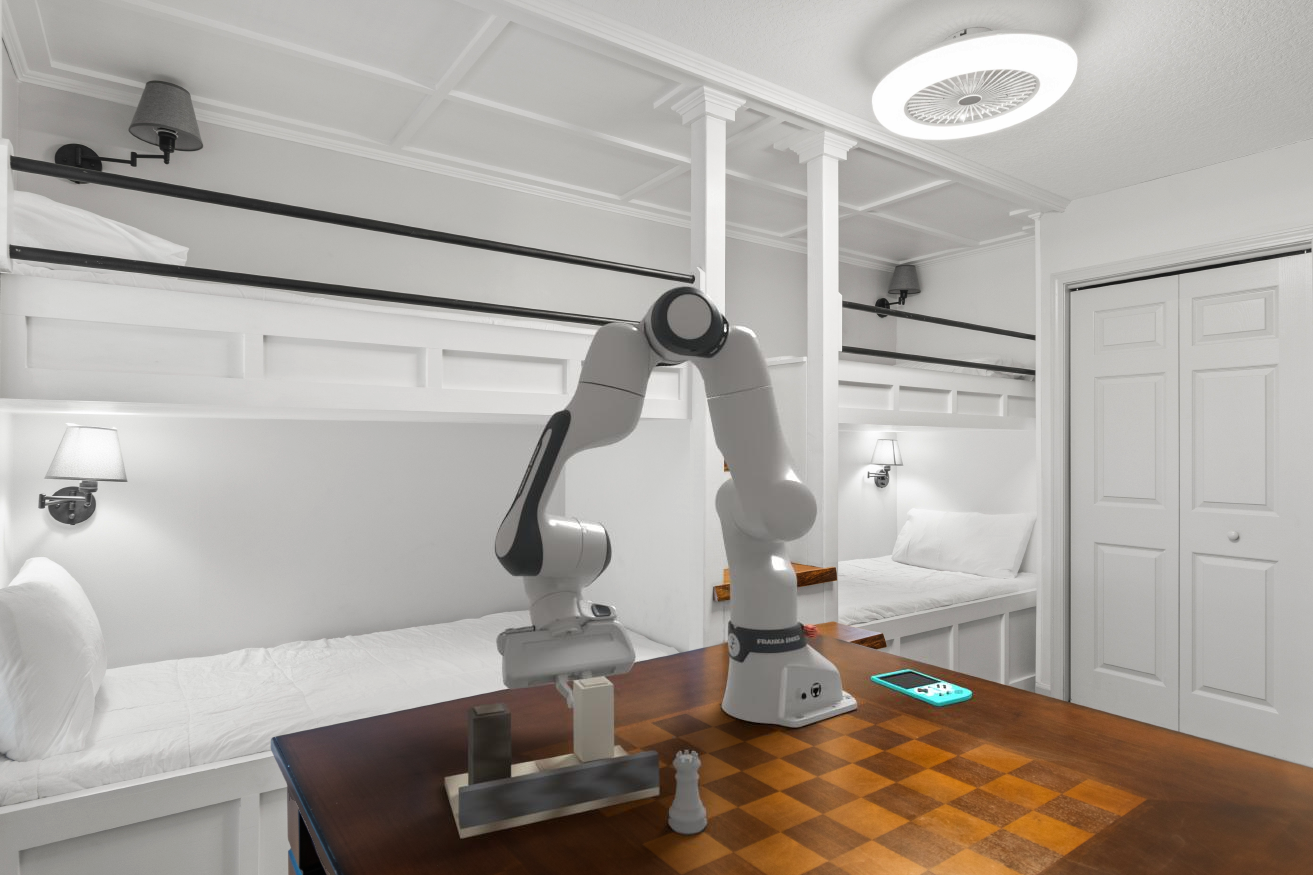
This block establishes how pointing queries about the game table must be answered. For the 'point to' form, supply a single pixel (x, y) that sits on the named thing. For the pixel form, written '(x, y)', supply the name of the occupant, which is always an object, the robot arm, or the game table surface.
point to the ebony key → (489, 743)
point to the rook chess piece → (687, 796)
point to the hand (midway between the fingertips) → (579, 705)
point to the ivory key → (593, 718)
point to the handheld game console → (923, 687)
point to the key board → (551, 790)
